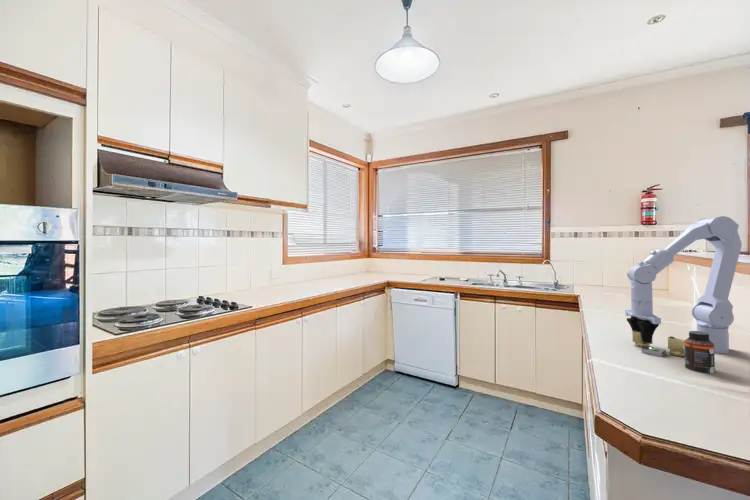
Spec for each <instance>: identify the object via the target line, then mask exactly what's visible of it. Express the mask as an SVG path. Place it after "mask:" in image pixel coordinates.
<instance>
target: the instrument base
mask: <svg viewBox="0 0 750 500" xmlns="http://www.w3.org/2000/svg"><path fill="white" fill-rule="evenodd" d="M641 354H646V355H650V356H656V357H662V358H663V356H666V355H667V351H666V349H661V348H659V347H657V346H650V347H647V346H646V347H641Z"/></svg>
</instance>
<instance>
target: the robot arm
mask: <svg viewBox="0 0 750 500" xmlns="http://www.w3.org/2000/svg"><path fill="white" fill-rule="evenodd" d="M739 226H740V225H739V224H738V223H737V222H736V221H734V219H732V218H731V217H729V216H724V215H721V216H716V217H709V218H705V217H704V218H700V219H698V220H696V221H695V222H694V223H692V224H690V225H689V226H688V227H687V228H686V229H685V230H684V231H683V232H682V233H681V234H679V235H678V236H677V237H676V238H675V239H674V240H672V242H671V243H669V244H668V245H667V246H666V247H665V248H664V249H661V248H660V249H656V250H651V251H650V252H649V254H650V255H648V256H647V257H646V258H645V259H643V260H639V262H638V265H633V266H632V267H631V268H629V270H628V273H626V274H627V275H626V276H627V277H628V279H629V281H630V304H631V306H630V307H631V309H625V310H624V311H625V315H624V316H627V317H626V321H627V322H628V324H629V326H630V329H631V331H632V330H637V331H641V336H642V341H643V342H644V343H651V340H652V341H653V338H654V335H655V334H654V333H655V331H656V330H657V329H658V327H659V325H661V324H662V318H661V317H659V316H656V315H655V314H654V309H653V303H654V302H653V301H654V300H653V282H654V281H656V279H657V275H658V274H659V273H661V272H662V271H663V270H665V268H667V267H668V266H670V265H671V264H672V263H674V259H675V258H674V257H675V256H676V255H677V254H679V253H680V252H681V251H683V250H684V249H686V248H687V247H688V246H690V245H691V244H693V243H695V242H696V241H698V240H706V241H708V242H709V243H710V244H711V245H712V246H713V247H714V248H715V252H714V255H713V259H712V261H711V262H712V263H711V268H710V272H709V275H708V279H707V283H706V287H705V291H704V294H702V295H701V296H700V297H699V298H697V299H698V300H697V302H696V304H694V306H693V307H692V309H691V315H692V318H693V319H695V320H696V331H700V332H706V333H708V334H709V340H710V341H711V342H713V343H714V354H729V351H730V333H729V329H730V327H729V326H731V325H732V324H733V323H734V321H735V317H734V313H733V308H734V305H733V304H732V303H731V301H730V300H729V296H730V292H731V289H732V284H733V281H734V277H735V272H736V269H737V265H738V261H739V257H740V254H741V249H742V246H743V245H742V240H741V236H740V235H739V231H738V230H739V228H740V227H739Z"/></svg>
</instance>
